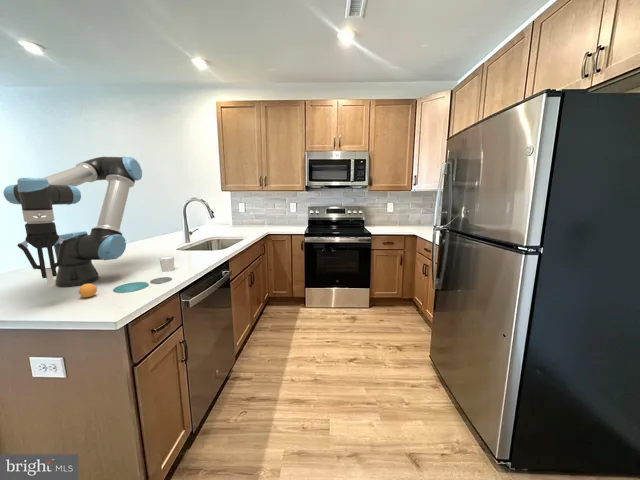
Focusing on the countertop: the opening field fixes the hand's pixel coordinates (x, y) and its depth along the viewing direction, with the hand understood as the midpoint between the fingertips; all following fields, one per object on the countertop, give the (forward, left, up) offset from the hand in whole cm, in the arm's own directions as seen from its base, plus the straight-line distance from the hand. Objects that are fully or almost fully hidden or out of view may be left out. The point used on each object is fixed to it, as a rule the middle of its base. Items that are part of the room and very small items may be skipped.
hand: (51, 285), depth 98 cm
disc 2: (+18, +32, -8) cm, 37 cm away
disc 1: (+12, +21, -8) cm, 25 cm away
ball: (+5, +9, -5) cm, 11 cm away
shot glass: (+9, +47, -8) cm, 48 cm away
